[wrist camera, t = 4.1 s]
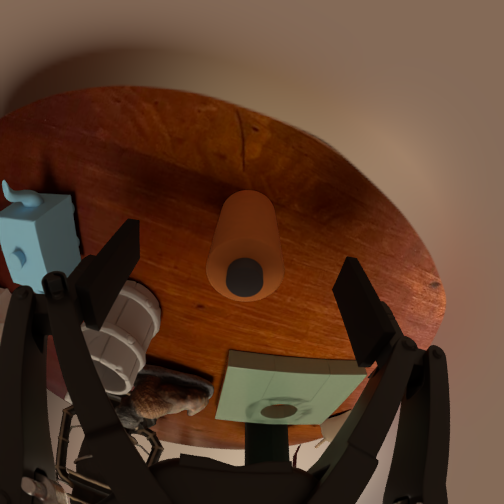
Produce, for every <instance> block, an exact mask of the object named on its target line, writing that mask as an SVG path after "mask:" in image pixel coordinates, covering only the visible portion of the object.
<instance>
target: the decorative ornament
mask: <svg viewBox="0 0 504 504" xmlns="http://www.w3.org/2000/svg"><path fill="white" fill-rule="evenodd" d="M351 411H352V410H349V411H348V412H346V413H344V414H341V415H339V416H336V417H332V418H329V419H326V420H325V421H324V422H323V423H322V424H319V425H320V427H321V431H322V434H323V437H324V439H323V440H322V441H321V442H320V443H318V444H317V445H316V446H315V448H318V447H319V446H320V445H321V444H322V443H323V442H324V441H328V442H332V440H333V439H334V437H335V436H336V434H337V433H338V431H339V430H340V428H341V427H342V425H343V424H344V422H345V421H346V419H347V417H348V416H349V414H350V413H351Z"/></svg>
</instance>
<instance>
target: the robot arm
mask: <svg viewBox="0 0 504 504" xmlns="http://www.w3.org/2000/svg"><path fill="white" fill-rule="evenodd" d="M139 259H140V245H139V220H135V219H127V220H126V222H125V223H124V224H123V225H122V226H121V227H120V228H119V229H118V231H117V232H116V233H115V234H114V235H113V236H112V238H111V239H110V240H109V241H108V242H107V243H106V245H105V246H104V247H103V248H102V249H101V251H100V252H99V253H98V254H97V256H94V255H88V256H87V257H85V258H84V259H82V260H81V262H80V263H79V264H78V266H76V268H75V269H74V271H72V273H71V274H70V275H69V276H68V278H67V276H66V274H65V273H63V272H62V271H52V272H50V273H48V274H46V275H45V276H44V277H43V278H42V281H41V284H42V288H43V291H44V294H34V291H33V289H32V287H30V286H28V285H23V286H20V287H18V288H16V289H15V290H14V291H13V293H12V295H11V298H10V302H9V306H8V310H7V314H6V318H5V322H4V327H3V332H2V337H1V342H0V504H68V499H67V495H66V493H65V490H64V489H63V488H62V486H61V485H60V484H58V483H57V482H56V472H55V464H54V457H53V452H52V445H51V438H50V431H49V422H48V410H47V391H46V356H47V337H48V335H53V340H54V344H55V348H56V352H57V356H58V360H59V364H60V367H61V371H62V374H63V377H64V381H65V384H66V387H67V390H68V393H69V396H70V399H71V401H72V404H73V407H74V409H75V412H76V415H77V417H78V419H79V422H80V424H81V427H82V429H83V431H84V434H85V442H86V444H87V446H88V449H89V451H90V453H91V455H92V457H93V459H94V461H95V463H96V465H97V466H98V468H99V470H100V472H101V474H102V475H103V477H104V479H105V481H106V482H107V484H108V486H109V487H110V489H111V491H112V492H113V493H112V494H110V495H109V496H107V497H106V498H104V499H103V500H101V501H100V502H98V503H96V504H355V503H356V502H357V500H358V499H359V497H360V495H361V494H362V492H363V490H364V489H365V487H366V485H367V484H368V482H369V480H370V479H371V477H372V475H373V473H374V471H375V469H376V467H377V465H378V460H377V459H376V456H377V453H378V452H379V450H380V448H381V446H382V443H383V442H384V440H385V437H386V435H387V433H388V431H389V429H390V426H391V424H392V422H393V420H394V417H395V415H396V413H397V410H398V407H399V405H400V403H401V408H400V416H399V424H398V431H397V437H396V442H395V448H394V453H393V458H392V463H391V468H390V471H389V476H388V480H387V484H386V487H385V492H384V497H383V504H448V499H447V490H446V477H447V469H448V468H447V467H448V457H449V441H450V403H449V402H450V401H449V383H448V373H447V362H446V356H445V353H444V352H443V350H442V349H441V348H440V347H438V346H435V345H431V346H430V347H429V348H428V349H427V351H425V350H422V349H419V348H418V347H417V345H416V343H415V342H414V341H413V340H412V339H411V338H409V337H407V336H404V335H403V333H402V331H401V329H400V327H399V325H398V323H397V321H396V320H395V317H394V315H393V313H392V311H391V309H390V308H389V307H388V305H387V304H386V303H385V302H383V301H380V299H379V297H378V296H377V294H376V292H375V290H374V288H373V286H372V284H371V283H370V281H369V279H368V277H367V275H366V274H365V272H364V270H363V268H362V266H361V265H360V263H359V261H358V259H357V258H353V257H348V256H347V257H346V259H345V262H344V264H343V266H342V269H341V271H340V273H339V275H338V278H337V280H336V282H335V284H334V287H333V289H332V291H333V293H334V296H335V299H336V302H337V304H338V307H339V310H340V313H341V316H342V319H343V322H344V325H345V327H346V330H347V333H348V336H349V339H350V342H351V346H352V349H353V352H354V355H355V358H356V361H357V365H358V367H371V365H372V364H373V363H374V362H375V360H376V362H377V365H378V366H377V367H376V368H375V370H374V371H373V372H372V373H371V374H370V376H369V377H368V378H370V379H369V381H368V383H367V385H366V387H365V388H364V390H363V392H362V394H361V396H360V397H359V399H358V401H357V402H356V404H355V406H354V408H353V409H352V411H351V413H350V414H349V416H348V417H347V419H346V421H345V422H344V424H343V425H342V427H341V428H340V430H339V431H338V433H337V434H336V436H335V437H334V439H333V440H332V442H331V443H330V445H329V446H328V448H327V449H326V450H325V452H324V453H323V454H322V456H321V457H320V458H319V460H318V461H317V462H316V463H315V464H314V465H313V466H312V467H311V468H310V469H309V470H308V471H307V472H306V471H304V470H302V469H299V468H296V467H292V461H265V462H260V463H255V464H250V465H245V466H233V465H230V464H226V463H223V462H220V461H217V460H214V459H211V458H208V457H201V456H194V455H187V454H180V458H172V459H166V460H163V461H160V462H157V463H155V464H153V465H151V466H149V467H148V466H147V464H146V463H145V461H144V460H143V458H142V457H141V455H140V454H139V452H138V451H137V449H136V447H135V446H134V444H133V442H132V441H131V439H130V437H129V435H128V434H127V432H126V430H125V428H124V427H123V425H122V423H121V421H120V419H119V417H118V415H117V413H116V411H115V409H114V407H113V405H112V403H111V401H110V399H109V397H108V395H107V393H106V391H105V388H104V386H103V384H102V382H101V379H100V377H99V375H98V372H97V370H96V367H95V365H94V362H93V360H92V357H91V355H90V352H89V349H88V347H87V344H86V341H85V338H84V335H83V332H82V329H81V326H80V325H81V324H82V322H83V320H84V322H85V325H86V328H89V329H92V330H95V331H100V329H101V327H102V325H103V323H104V321H105V319H106V317H107V315H108V313H109V312H110V310H111V308H112V306H113V304H114V302H115V300H116V299H117V297H118V295H119V293H120V291H121V290H122V288H123V286H124V284H125V282H126V281H127V279H128V277H129V276H130V274H131V272H132V270H133V269H134V267H135V265H136V264H137V262H138V260H139Z"/></svg>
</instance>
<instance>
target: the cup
mask: <svg viewBox="0 0 504 504" xmlns="http://www.w3.org/2000/svg"><path fill="white" fill-rule="evenodd" d="M11 295H12V294H11V293H10V292H9V290H8V289H7V288H6V289H3V288H0V342H1V337H2V332H3V327H4V322H5V318H6V314H7V310H8V306H9V302H10V298H11Z"/></svg>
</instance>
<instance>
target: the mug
mask: <svg viewBox="0 0 504 504" xmlns="http://www.w3.org/2000/svg"><path fill="white" fill-rule="evenodd" d="M160 315H161V310H160V308H159V302H158V300H157V299H156V298H155V296H154V295H153V294H152V293H151V292H150V291H149V290H148V289H147V288H145V287H144V286H143V285H141V284H139V283H137V284H136V282H135V281H129V280H127V281H126V282H125V284H124V286H123V288H122V290H121V291H120V293H119V295H118V297H117V299H116V300H115V302H114V304H113V306H112V308H111V310H110V312H109V313H108V315H107V317H106V319H105V321H104V323H103V325H102V327H101V329H100V331H95V330H92V329H89V328H86V325H85V322H84V323H83V324H82V325H81V329H82V332H83V335H84V338H85V341H86V344H87V347H88V349H89V352H90V355H91V357H92V360H93V362H94V365H95V367H96V370H97V372H98V375H99V377H100V379H101V382H102V384H103V386H104V388H105V391H106V392H108V393H111V394H117V395H123V394H127V393H128V392H129V391H130V390H131V389H132V387H133V384H134V381H135V379H136V376H137V373H138V372H139V371H140V370H141V369H142V368H143V367H144V366H145V364H146V358H145V354H146V351H147V348H148V345H149V343H150V341H151V339H152V338H153V337H154V336H155V335H156V333H157V332H158V331H159V328H160ZM65 400H66V401H68V402H69V403H71V404H72V401H71V399H70V396H69V393H68V392H67V394H66V396H65Z"/></svg>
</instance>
